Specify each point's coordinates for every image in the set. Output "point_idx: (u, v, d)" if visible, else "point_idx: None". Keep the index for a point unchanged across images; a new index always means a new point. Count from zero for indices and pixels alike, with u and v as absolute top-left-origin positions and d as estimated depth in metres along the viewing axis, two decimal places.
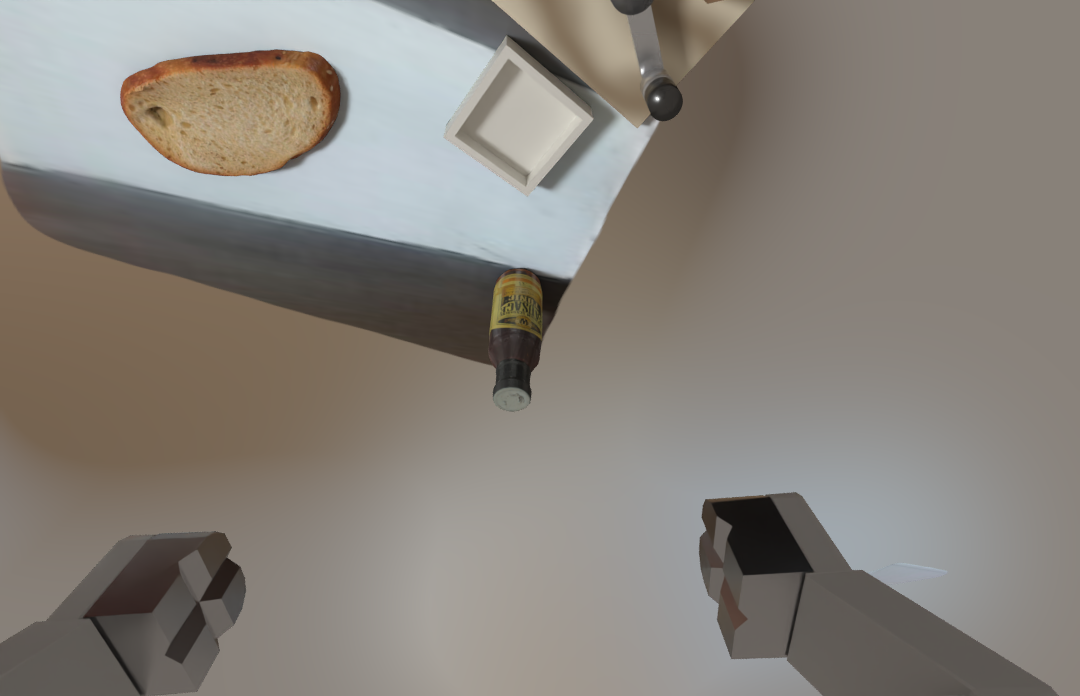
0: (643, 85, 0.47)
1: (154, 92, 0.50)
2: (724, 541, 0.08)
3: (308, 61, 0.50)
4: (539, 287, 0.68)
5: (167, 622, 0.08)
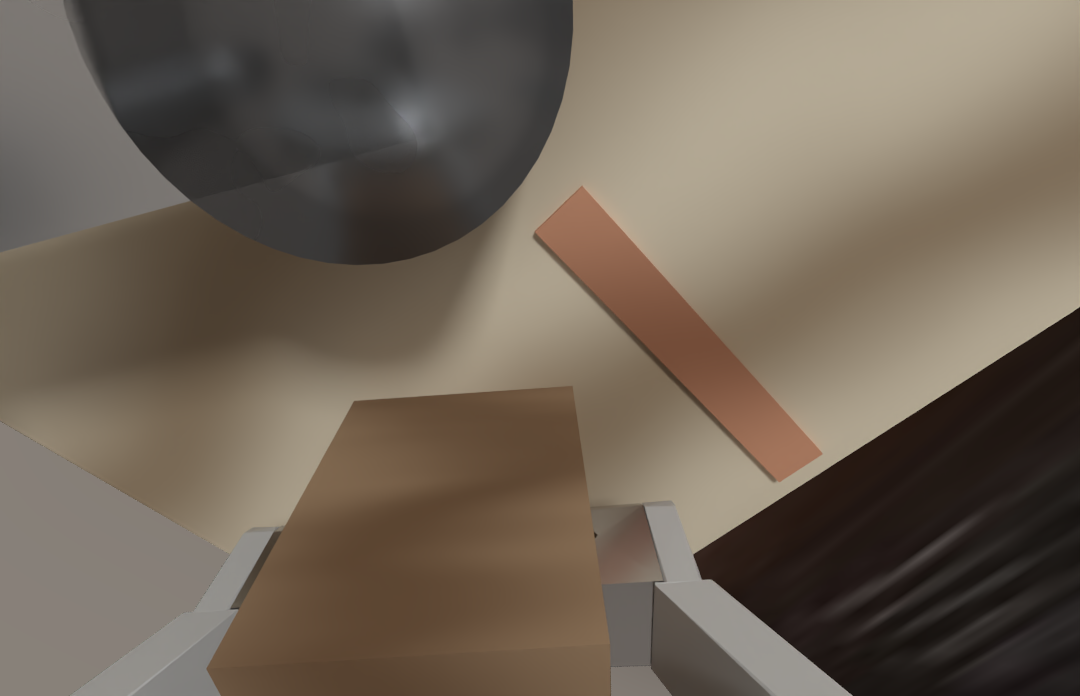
0: None
1: None
2: None
3: None
4: None
5: None
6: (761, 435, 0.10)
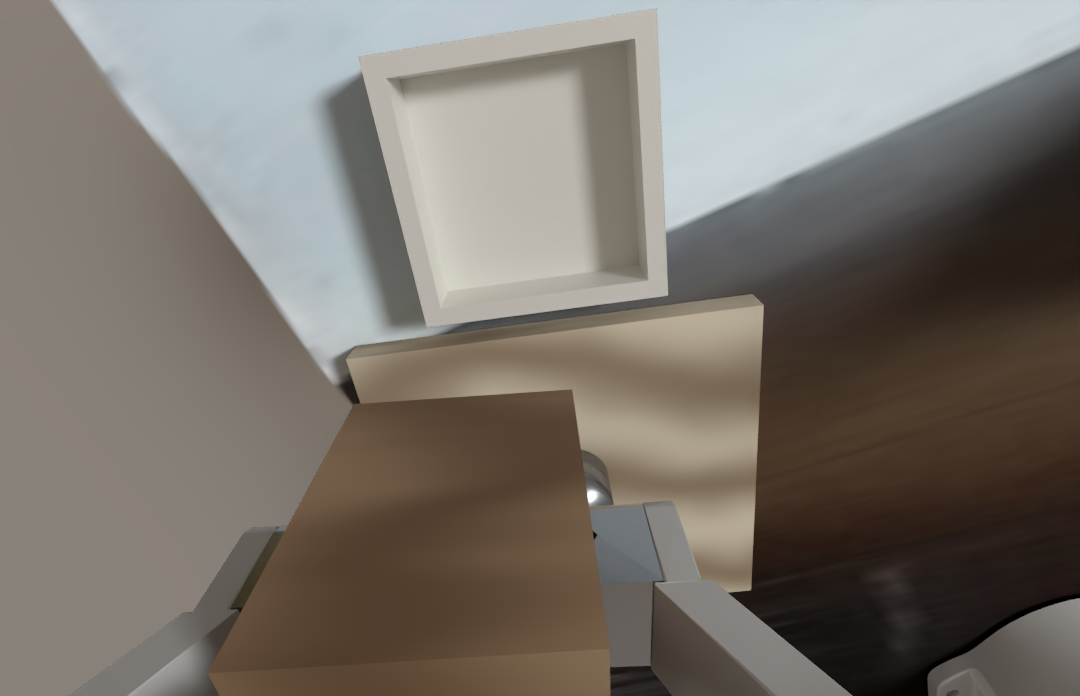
0: None
1: None
2: None
3: None
4: None
5: None
6: None
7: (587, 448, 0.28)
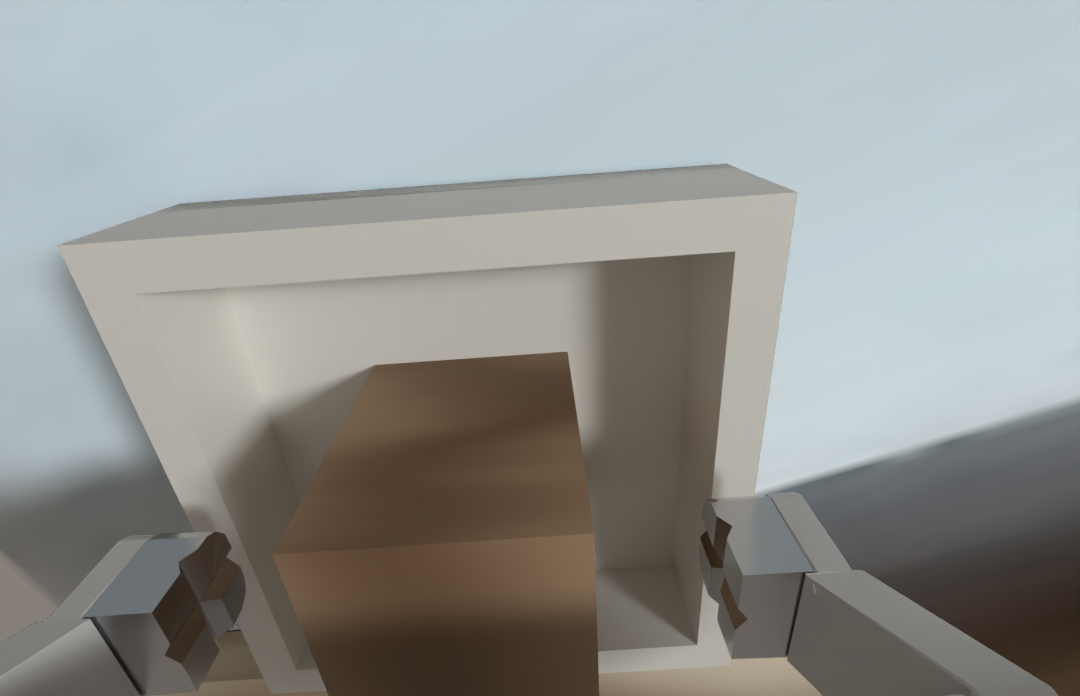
0: None
1: None
2: (724, 541, 0.08)
3: None
4: None
5: (167, 623, 0.08)
6: None
7: None
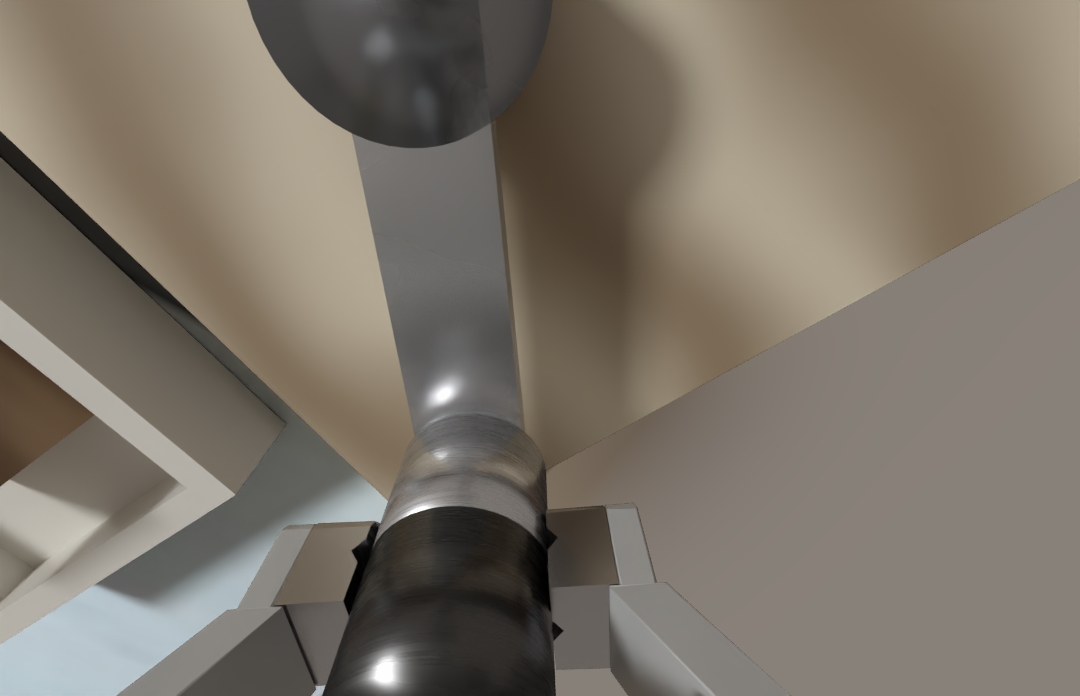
0: (394, 489, 0.09)
1: None
2: None
3: None
4: None
5: None
6: None
7: None
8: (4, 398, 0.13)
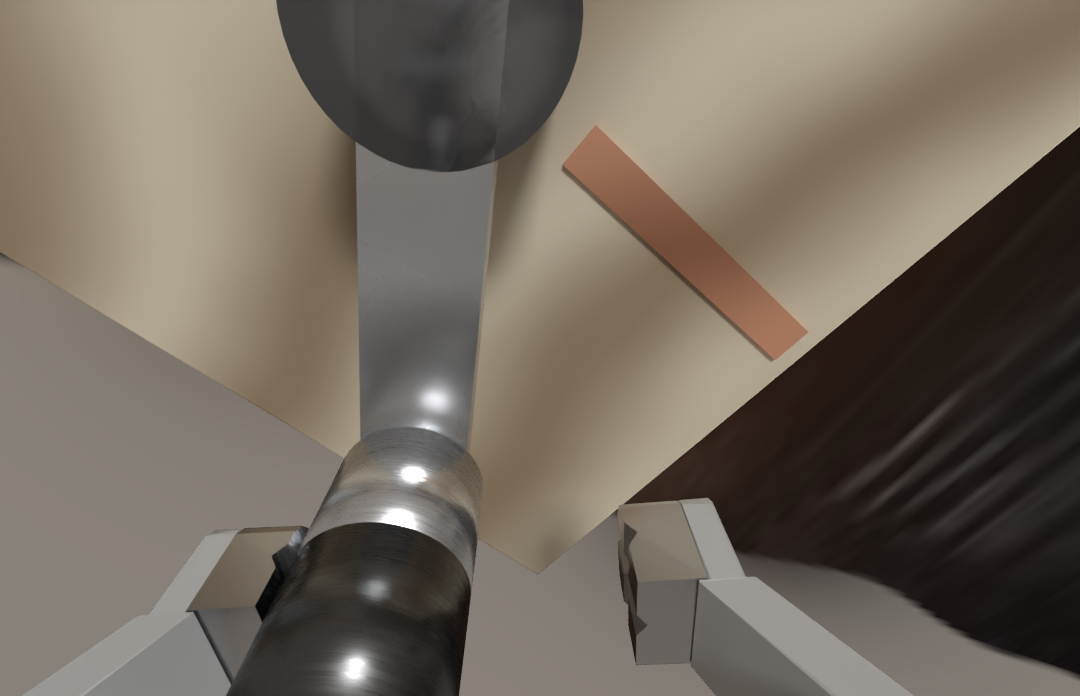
0: (330, 492, 0.09)
1: None
2: None
3: None
4: None
5: None
6: (755, 319, 0.13)
7: None
8: None
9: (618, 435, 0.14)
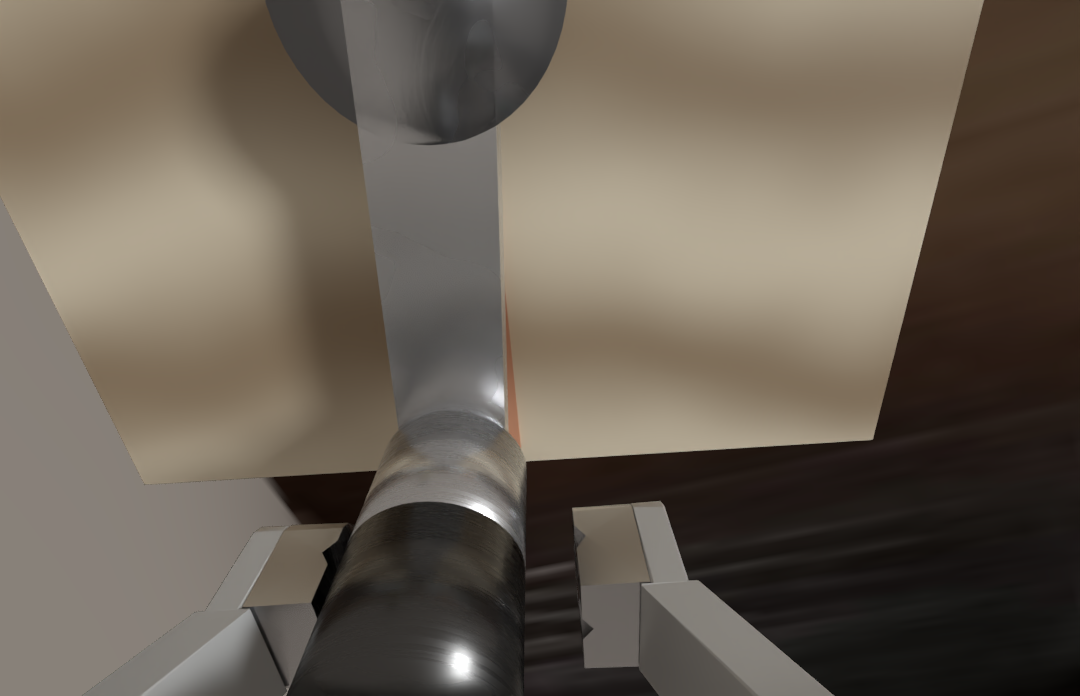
0: (375, 482, 0.09)
1: None
2: None
3: None
4: None
5: None
6: None
7: None
8: None
9: (320, 418, 0.14)
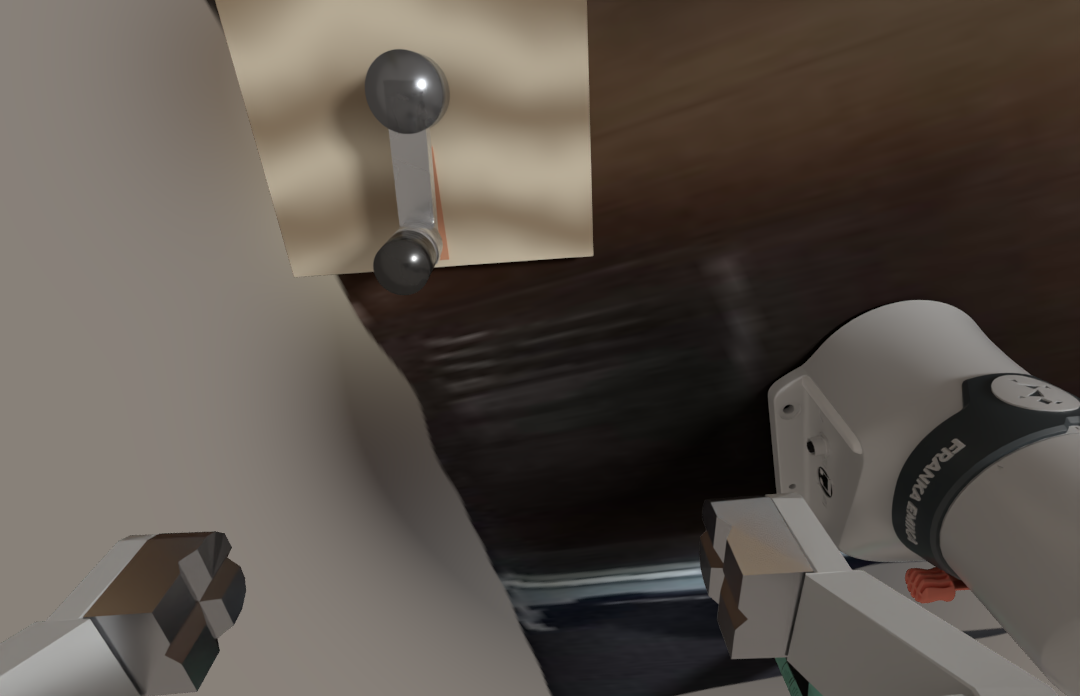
0: None
1: None
2: (724, 541, 0.08)
3: None
4: None
5: (167, 622, 0.08)
6: None
7: None
8: None
9: (368, 245, 0.35)
